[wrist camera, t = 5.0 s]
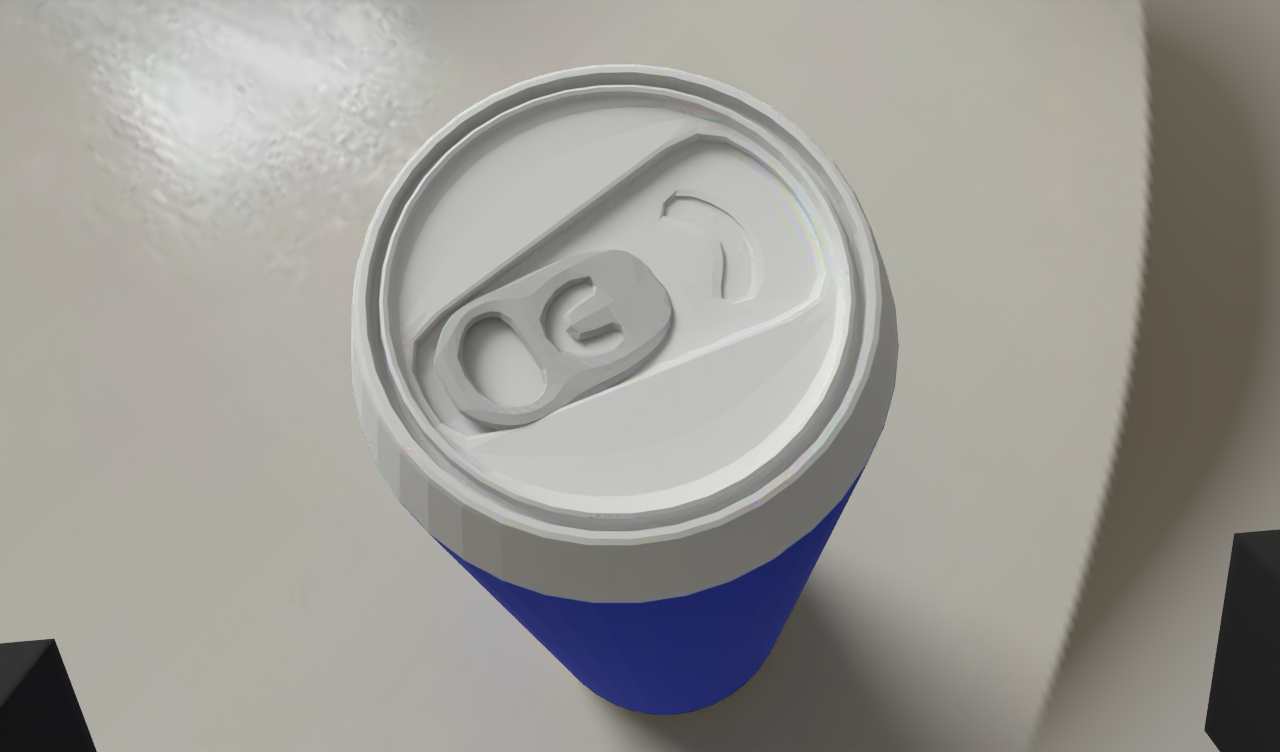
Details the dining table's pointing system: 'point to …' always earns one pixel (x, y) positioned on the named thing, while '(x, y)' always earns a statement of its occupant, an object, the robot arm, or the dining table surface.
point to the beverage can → (626, 367)
